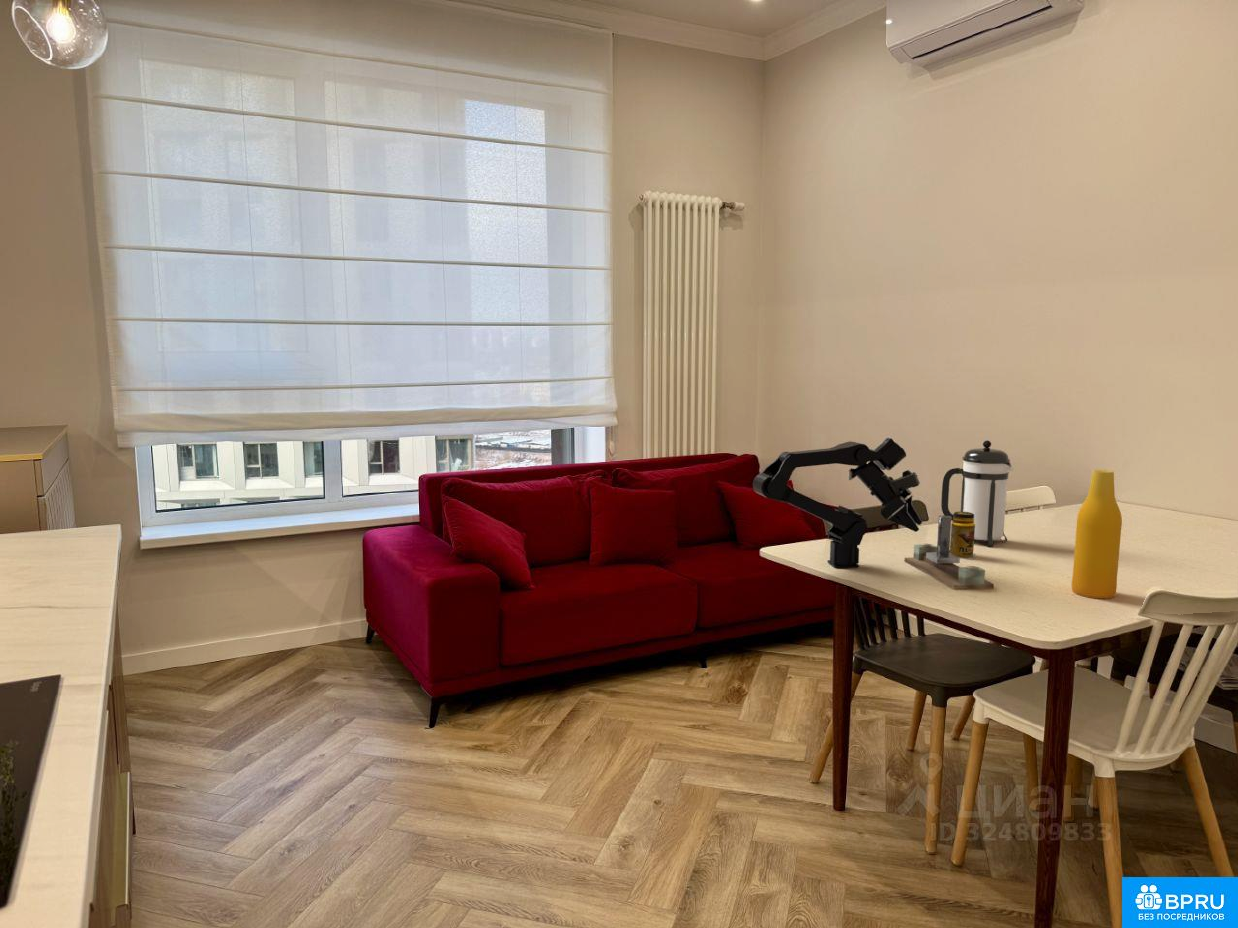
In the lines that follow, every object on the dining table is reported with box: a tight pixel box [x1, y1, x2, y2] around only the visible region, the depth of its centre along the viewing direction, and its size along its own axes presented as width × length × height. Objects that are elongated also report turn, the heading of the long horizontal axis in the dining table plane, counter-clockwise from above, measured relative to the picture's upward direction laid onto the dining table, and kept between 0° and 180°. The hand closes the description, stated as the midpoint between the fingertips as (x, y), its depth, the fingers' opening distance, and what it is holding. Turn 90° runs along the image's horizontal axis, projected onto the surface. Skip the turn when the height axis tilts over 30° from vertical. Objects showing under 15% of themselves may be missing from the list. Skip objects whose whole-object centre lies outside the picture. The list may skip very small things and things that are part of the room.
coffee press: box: [940, 440, 1014, 548], centre depth 258 cm, size 17×16×30 cm
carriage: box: [926, 514, 961, 564], centre depth 224 cm, size 6×6×11 cm
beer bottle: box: [1071, 469, 1123, 600], centre depth 204 cm, size 9×9×29 cm
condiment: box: [949, 510, 977, 560], centre depth 242 cm, size 7×8×12 cm
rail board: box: [903, 542, 995, 590], centre depth 222 cm, size 10×27×5 cm, turn 7°
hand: (919, 527), depth 225 cm, fingers open, 9 cm apart
